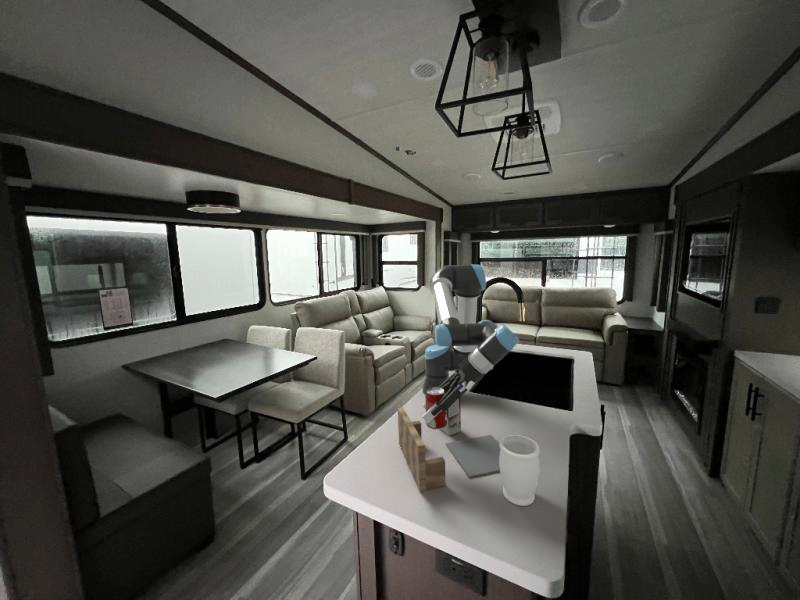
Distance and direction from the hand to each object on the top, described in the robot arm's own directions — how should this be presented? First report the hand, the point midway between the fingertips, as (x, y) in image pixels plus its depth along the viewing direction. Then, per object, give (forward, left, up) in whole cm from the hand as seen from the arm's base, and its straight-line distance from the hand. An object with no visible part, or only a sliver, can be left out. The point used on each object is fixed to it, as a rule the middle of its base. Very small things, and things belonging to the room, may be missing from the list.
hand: (425, 413), depth 101 cm
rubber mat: (+3, +18, -16) cm, 25 cm away
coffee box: (-16, +14, -16) cm, 27 cm away
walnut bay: (+1, -3, -16) cm, 16 cm away
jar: (+22, +19, -16) cm, 34 cm away
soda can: (+1, +3, -4) cm, 6 cm away
